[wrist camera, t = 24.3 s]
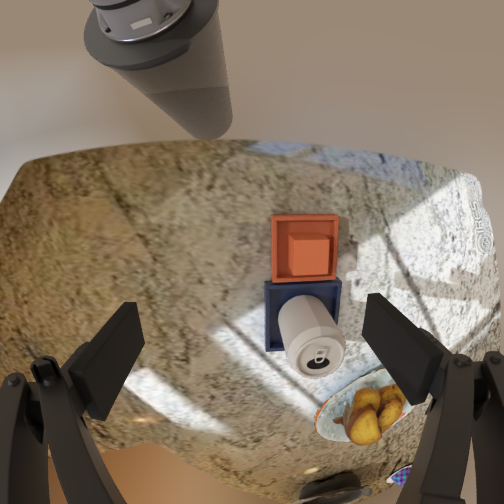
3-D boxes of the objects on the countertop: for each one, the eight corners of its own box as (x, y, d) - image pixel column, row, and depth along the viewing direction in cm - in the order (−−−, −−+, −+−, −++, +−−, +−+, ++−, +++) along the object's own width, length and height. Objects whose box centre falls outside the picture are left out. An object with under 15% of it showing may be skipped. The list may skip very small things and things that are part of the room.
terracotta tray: (270, 214, 38) (272, 216, 36) (334, 214, 38) (338, 215, 36) (271, 278, 40) (272, 282, 38) (331, 275, 41) (335, 279, 39)
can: (276, 336, 42) (287, 386, 31) (277, 293, 40) (290, 336, 29) (322, 333, 43) (345, 379, 31) (326, 291, 41) (354, 330, 29)
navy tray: (264, 281, 40) (265, 285, 39) (337, 277, 41) (341, 281, 39) (264, 345, 43) (265, 351, 41) (331, 340, 43) (334, 346, 42)
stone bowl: (367, 457, 54) (377, 481, 46) (361, 483, 62) (367, 503, 54) (280, 481, 55) (284, 508, 46) (291, 502, 63) (294, 523, 54)
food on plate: (437, 372, 48) (451, 388, 41) (368, 442, 53) (376, 460, 46) (368, 339, 44) (384, 359, 37) (289, 426, 49) (293, 449, 42)
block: (288, 233, 38) (294, 240, 34) (319, 232, 38) (329, 239, 34) (287, 265, 39) (293, 275, 35) (318, 264, 40) (328, 274, 35)
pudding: (379, 480, 61) (384, 491, 56) (406, 462, 59) (412, 472, 54) (395, 481, 63) (399, 491, 58) (420, 463, 61) (425, 473, 56)
